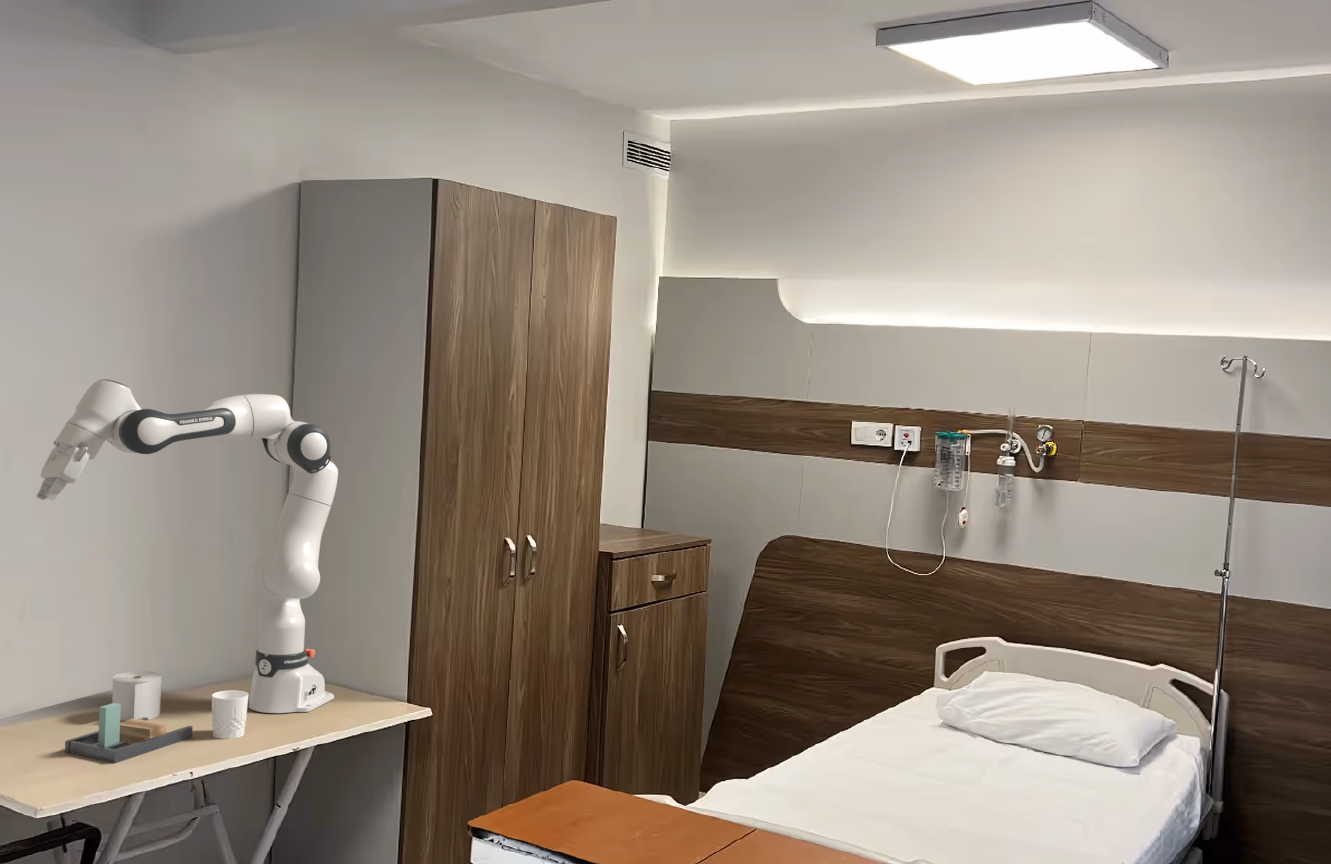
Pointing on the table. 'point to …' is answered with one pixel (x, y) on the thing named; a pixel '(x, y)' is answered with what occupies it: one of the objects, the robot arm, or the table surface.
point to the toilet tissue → (137, 694)
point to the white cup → (229, 713)
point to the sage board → (109, 724)
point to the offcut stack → (140, 730)
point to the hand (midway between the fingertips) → (44, 498)
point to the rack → (123, 745)
